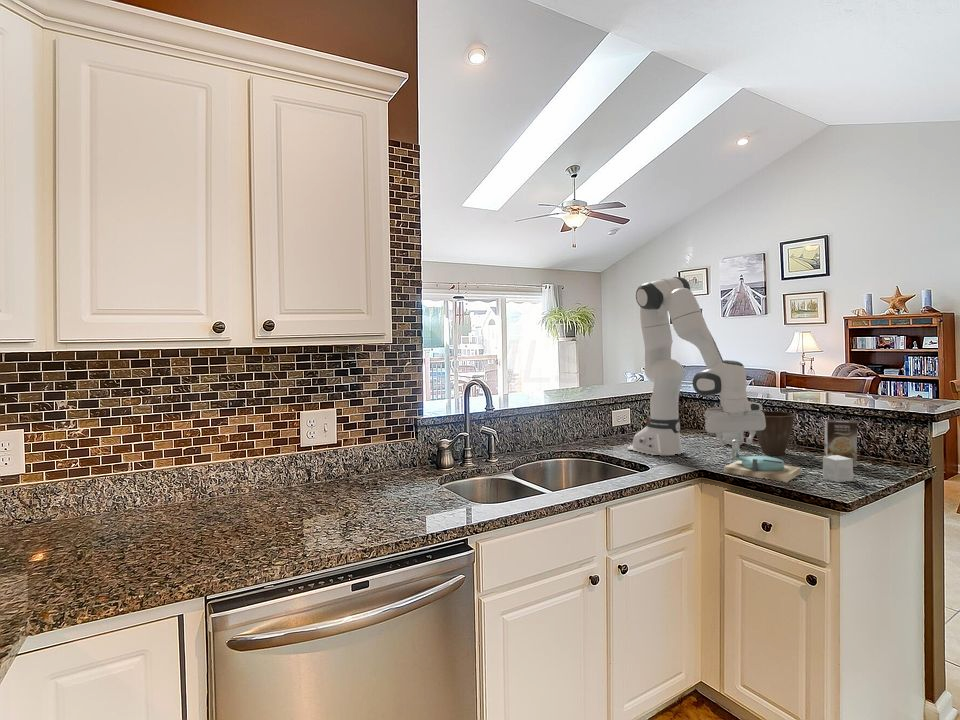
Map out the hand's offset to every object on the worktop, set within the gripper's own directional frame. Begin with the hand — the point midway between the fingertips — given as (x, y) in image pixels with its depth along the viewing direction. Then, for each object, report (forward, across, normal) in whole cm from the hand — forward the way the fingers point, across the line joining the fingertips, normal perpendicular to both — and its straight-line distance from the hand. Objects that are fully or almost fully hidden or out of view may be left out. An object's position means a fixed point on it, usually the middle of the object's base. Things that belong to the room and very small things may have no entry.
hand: (735, 443), depth 194 cm
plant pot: (+10, +23, +22) cm, 34 cm away
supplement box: (+10, +16, +42) cm, 46 cm away
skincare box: (+10, +26, -16) cm, 32 cm away
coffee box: (+11, +37, +2) cm, 39 cm away
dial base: (+9, +6, -6) cm, 13 cm away
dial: (+7, +5, -4) cm, 10 cm away
